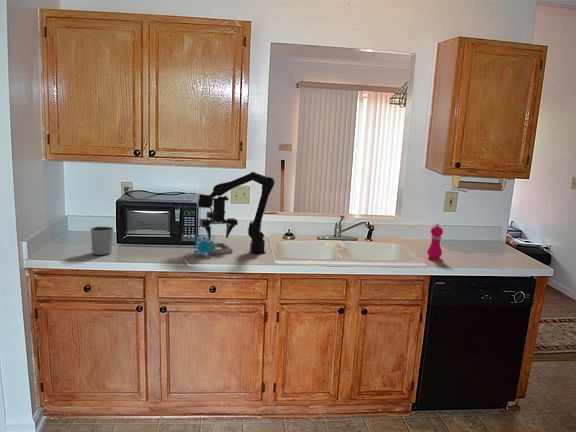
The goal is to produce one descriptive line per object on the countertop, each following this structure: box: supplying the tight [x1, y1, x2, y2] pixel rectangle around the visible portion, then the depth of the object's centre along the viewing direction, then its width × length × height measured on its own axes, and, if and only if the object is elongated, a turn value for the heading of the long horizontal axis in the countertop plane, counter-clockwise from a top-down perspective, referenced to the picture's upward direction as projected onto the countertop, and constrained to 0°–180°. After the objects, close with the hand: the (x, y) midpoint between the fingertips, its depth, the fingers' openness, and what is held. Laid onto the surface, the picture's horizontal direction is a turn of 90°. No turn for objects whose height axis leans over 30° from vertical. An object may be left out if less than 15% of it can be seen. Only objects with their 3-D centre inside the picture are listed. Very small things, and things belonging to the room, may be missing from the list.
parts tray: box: [208, 242, 233, 255], centre depth 249 cm, size 11×15×2 cm
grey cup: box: [90, 226, 114, 256], centre depth 232 cm, size 10×10×12 cm
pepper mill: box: [427, 223, 444, 261], centre depth 250 cm, size 7×7×20 cm
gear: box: [193, 236, 217, 257], centre depth 238 cm, size 11×6×10 cm
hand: (218, 238), depth 248 cm, fingers open, 9 cm apart
